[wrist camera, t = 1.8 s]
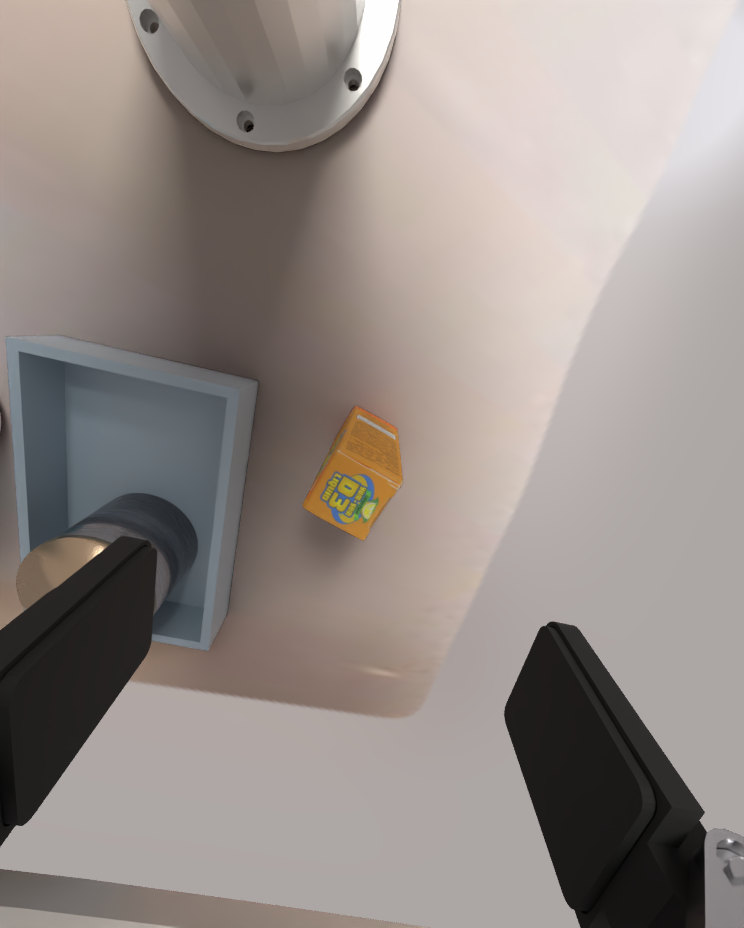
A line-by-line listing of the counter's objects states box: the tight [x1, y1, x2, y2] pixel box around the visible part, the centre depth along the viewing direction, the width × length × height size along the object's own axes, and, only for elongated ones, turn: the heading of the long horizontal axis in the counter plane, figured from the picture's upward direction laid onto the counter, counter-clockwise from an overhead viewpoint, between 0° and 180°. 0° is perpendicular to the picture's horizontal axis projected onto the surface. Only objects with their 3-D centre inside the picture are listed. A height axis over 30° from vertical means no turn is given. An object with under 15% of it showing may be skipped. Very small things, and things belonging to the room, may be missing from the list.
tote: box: [6, 335, 259, 651], centre depth 25 cm, size 18×12×4 cm, turn 167°
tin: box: [16, 493, 198, 616], centre depth 25 cm, size 7×7×6 cm
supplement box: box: [303, 406, 403, 540], centre depth 21 cm, size 3×3×10 cm
